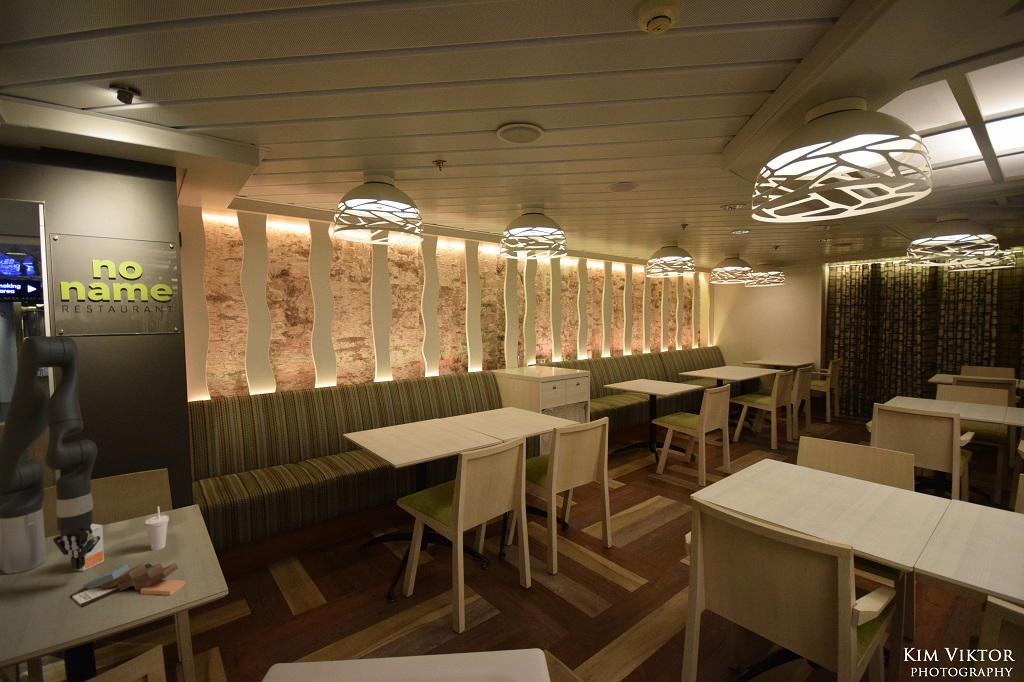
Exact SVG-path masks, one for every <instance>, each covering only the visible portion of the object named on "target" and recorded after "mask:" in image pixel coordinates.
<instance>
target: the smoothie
mask: <svg viewBox="0 0 1024 682" xmlns="http://www.w3.org/2000/svg"><path fill="white" fill-rule="evenodd" d="M156 508H157V515H156V516H154V517H151V518H148V519H146V520H145V521H144V526H145V527H146V531H147V535H148V539H149V545H150V548H151V551H158V550H162V549H163V548H165V547H166V545H167V543H166V542H167V533H168V525H169V524H168V523H169V521H170V518H169V516H168V515H160V513H161V512H160V510H161V509H160V506H159V505H157V507H156Z"/></svg>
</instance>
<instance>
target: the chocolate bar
mask: <svg viewBox="0 0 1024 682" xmlns="http://www.w3.org/2000/svg"><path fill="white" fill-rule="evenodd" d="M144 565H145V567H146V569H148V568H150V567H152V566H153V565H152V564H150V563H146V564H144ZM118 585H119V584H118ZM118 585H116V586H113V587H111V588H108V589H102V587H101V585H99V586H97V587H94V588H92V589H85V588H84V589H82V590H79V591H76V592H75V593H71V594H70V598H72V599H73V600H74V601H75V602H76V603H77V604H79V605H80V606H81V607H82V608H85V607H87V606H89V605H92V604H94V603H96V602H98V601H100V600H103V599H105V598H107V597H111V596H113V595H115V594H117V593H119V592H122V591H123V590H121V591H120V589H119V587H118ZM131 587H134V585H133V586H130V587H128V588H126V589H125V590H127V589H129V588H131Z"/></svg>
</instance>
